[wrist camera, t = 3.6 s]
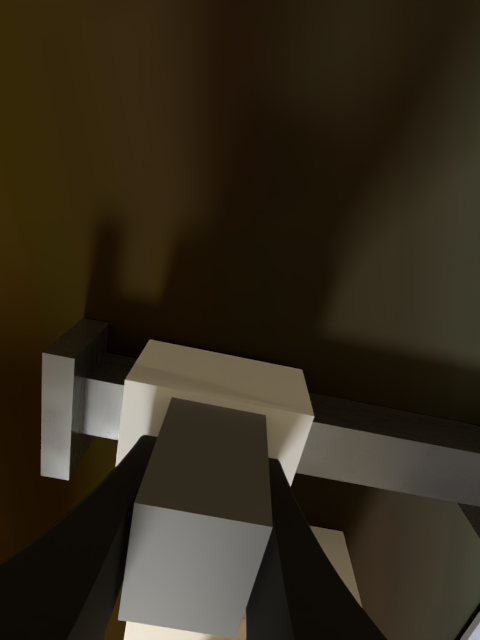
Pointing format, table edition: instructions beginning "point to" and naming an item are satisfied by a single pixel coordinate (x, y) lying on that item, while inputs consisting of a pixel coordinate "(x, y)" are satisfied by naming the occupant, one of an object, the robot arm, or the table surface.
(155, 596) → the carriage
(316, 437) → the rail
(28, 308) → the table surface
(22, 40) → the table surface
